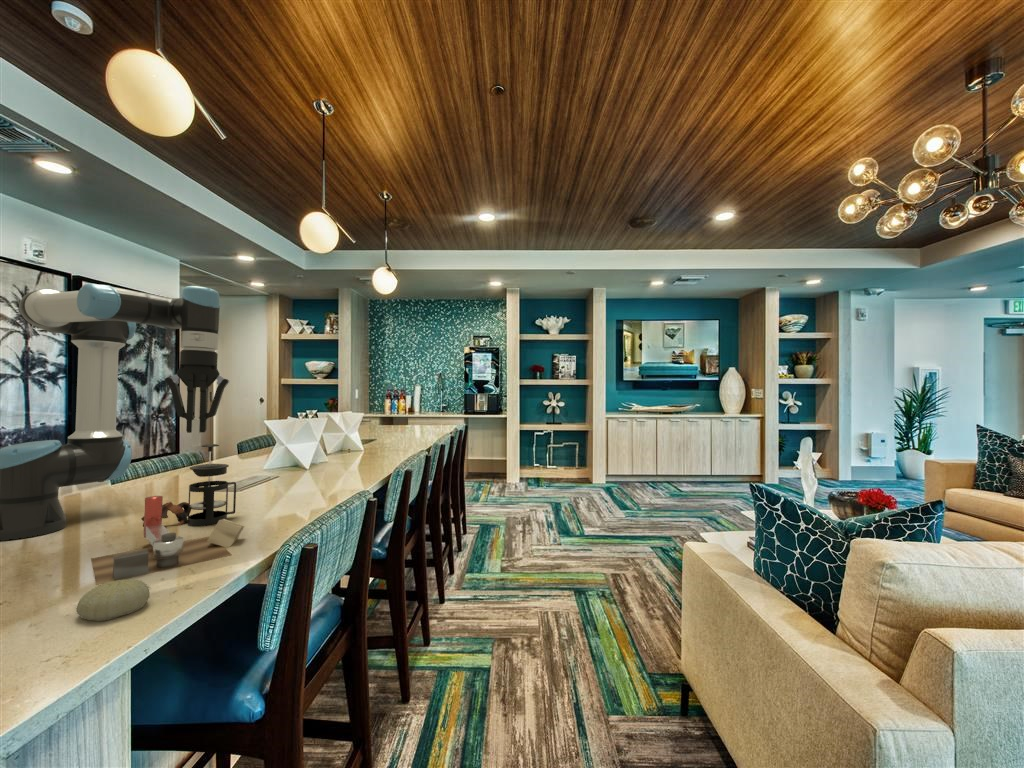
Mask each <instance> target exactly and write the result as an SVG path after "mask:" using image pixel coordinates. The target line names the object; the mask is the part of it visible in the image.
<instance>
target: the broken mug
mask: <svg viewBox="0 0 1024 768" xmlns="http://www.w3.org/2000/svg"><path fill="white" fill-rule="evenodd" d="M188 503H189V502H185V501H183V502H180V503H179V504H173V502H172V501H169V502H166V503H164V504H162V519H168V518H169V515H168V511H170V512H171V513H172V514H174V515H175V517H176V518H177V519H176V520H177V523H176V527H180V526H183V525H188ZM191 512H192V509H190V513H191ZM140 520H142V522H143V523H142V527H143V528H144V516H142V517H141V519H140Z"/></svg>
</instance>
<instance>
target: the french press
mask: <svg viewBox="0 0 1024 768" xmlns="http://www.w3.org/2000/svg"><path fill="white" fill-rule="evenodd" d="M200 447H202V448H207V451H208V452H209V454H208V463H204V464H199V465H193V466H190V467H189V469H190V470H192V472H193V473H194V474H195V475H196V476H197V477H201V478H203V477H204V478H205V477H207V478H208V480H207V481H200V482H199V481H198V482H194V483H191V484H189V485H188V502H187V503H188V517H187V518H188V524H187V525H188V526H189V527H200V528H201V527H211V526H216V525H217V523H218V521H219V520H222V519H226V520H228V515H234V514H235V513H236V505H237V504H236V499H237V497H236V496H237V482H236V481H230V482H229V481H227V480H211V477H216V476H223V475H225V474H227V472H228V471H227V470H228V469H227V468H229V464H227V463H212V452H213V447H214V448H215V447H220V444H217V443H209V444H203V445H202V444H201V445H200ZM229 485H233V499H232V501H233V502H232V503H233V506H232V507H233V509H232V510H231V511H228V497H229V496H228V495H229ZM221 490H225V492H226V494H225V500H222V499H220V500H218V499H216V500H215V492H217V491H221ZM191 493H202V494H203V496H202V497H203V498H202V499H203V500H202V501H198V502H194V503H191ZM224 506H225V511H224V510H214V509H218V508H222V507H224ZM190 509H191V510H196V511H202V512H197V513H194V514H191V512H190ZM190 514H191V515H190Z"/></svg>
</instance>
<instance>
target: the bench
mask: <svg viewBox="0 0 1024 768" xmlns="http://www.w3.org/2000/svg"><path fill="white" fill-rule="evenodd" d="M176 537H177V533H176V532H170V533H167V534H163V535H162V536H161V541H172V540H175V539H176ZM209 537H210V535H209V536H203V537H199V538H193V539H188V540H183V553H182V554H181V555H179V556H176V557H173V558H168V559H153V546H151V547H145V548H140V549H139V548H138V549H134V550H129V551H128V550H127V551H123V552H118V553H112V554H109V555H108V554H107V555H102V556H97V557H92V558H90V560H91V566H92V570H93V577H94V582H95V585H96V586H99V585H101V584H103V583H107V582H110V581H117V580H124V579H125V580H126V579H132V578H134V577H135V578H136V577H140V576H143V575H144V576H145V575H149V574H152V573H153V574H154V573H157V572H162V571H167V570H172V569H175V568H176V569H177V568H180V567H185V566H188V565H189V566H190V565H194V564H198V563H203V562H208V561H212V560H213V561H214V560H216V559H220V558H221V559H222V558H227V557H231V556H233V554H232V553H231V552H230V551H229V550H228V549H227V547H223V546H220V545H216V544H213V543H210V542H207V540H208V539H209Z"/></svg>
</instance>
